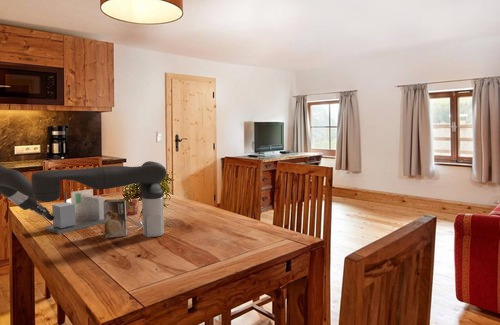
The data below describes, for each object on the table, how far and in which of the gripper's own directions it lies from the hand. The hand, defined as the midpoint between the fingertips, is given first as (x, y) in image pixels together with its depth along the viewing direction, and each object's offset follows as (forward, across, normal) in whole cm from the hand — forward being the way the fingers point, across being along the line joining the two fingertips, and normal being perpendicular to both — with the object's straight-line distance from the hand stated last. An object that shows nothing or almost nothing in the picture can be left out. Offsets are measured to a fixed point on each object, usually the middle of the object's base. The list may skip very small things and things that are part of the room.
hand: (52, 219), depth 162 cm
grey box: (+6, 0, +1) cm, 6 cm away
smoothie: (+34, +2, +26) cm, 43 cm away
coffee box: (+14, +28, +6) cm, 32 cm away
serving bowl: (+26, -25, +17) cm, 40 cm away
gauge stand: (+11, 0, +3) cm, 12 cm away
